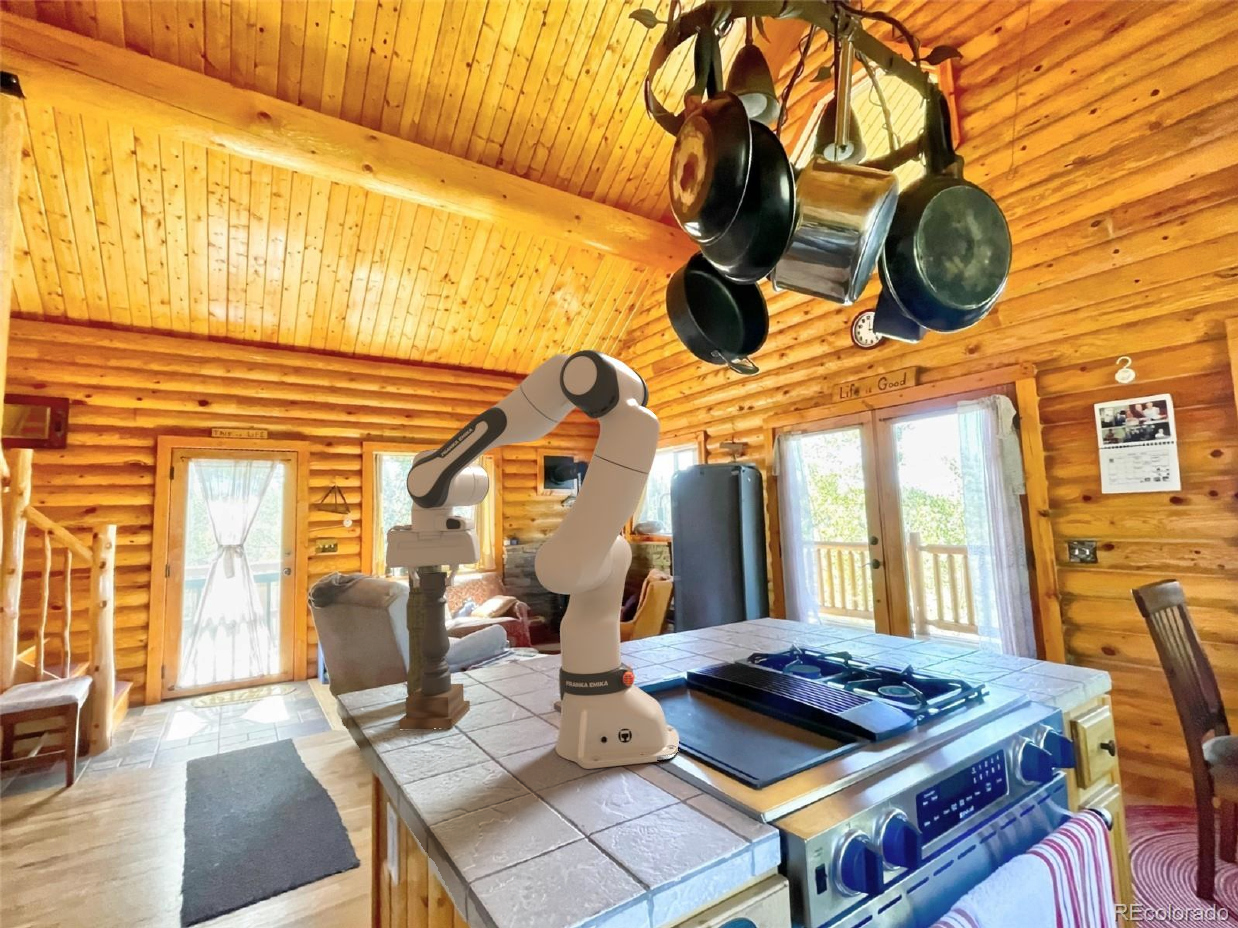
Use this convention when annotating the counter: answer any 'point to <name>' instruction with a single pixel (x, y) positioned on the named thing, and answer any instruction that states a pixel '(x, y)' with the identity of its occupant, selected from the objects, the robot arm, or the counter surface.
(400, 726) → the walnut stand
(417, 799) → the counter surface
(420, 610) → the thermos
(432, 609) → the candle holder
